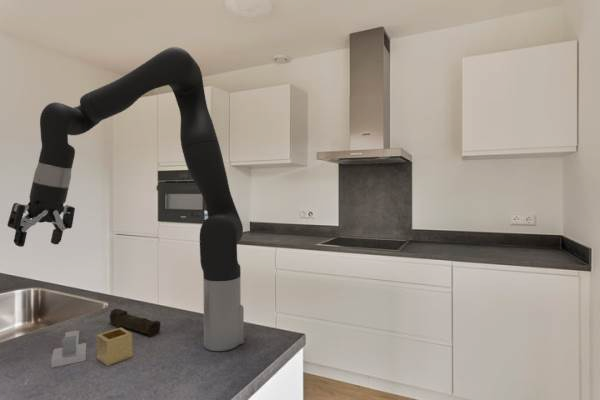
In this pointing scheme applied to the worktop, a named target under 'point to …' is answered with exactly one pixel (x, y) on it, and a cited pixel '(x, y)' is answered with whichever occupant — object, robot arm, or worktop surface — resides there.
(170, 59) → the robot arm
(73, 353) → the clear stepped bracket
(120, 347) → the tan open-top container
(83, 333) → the worktop surface
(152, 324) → the hand tool
